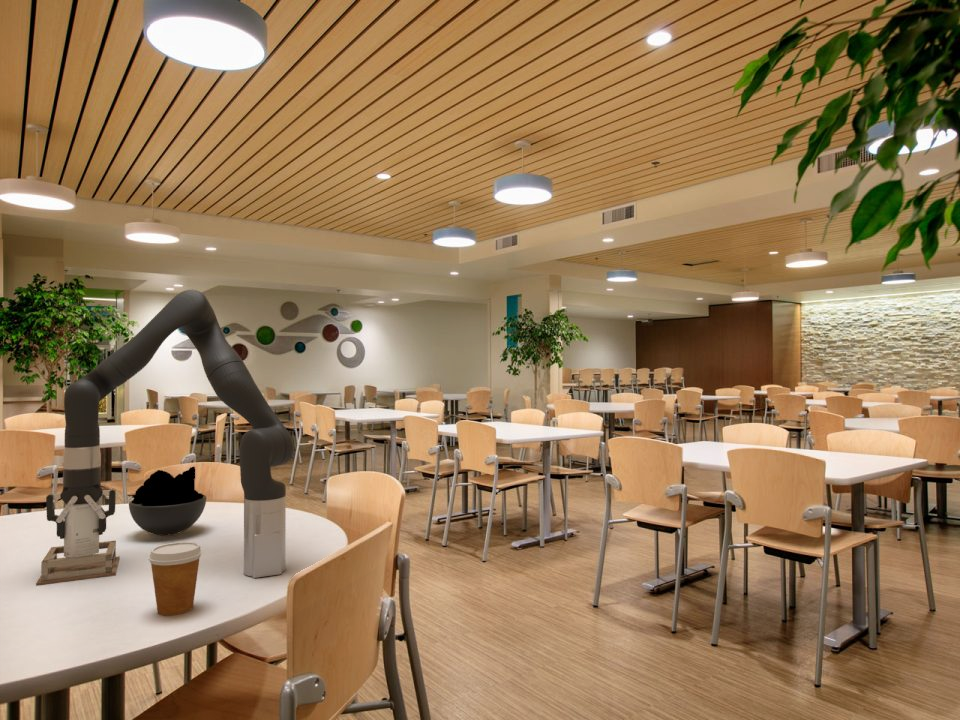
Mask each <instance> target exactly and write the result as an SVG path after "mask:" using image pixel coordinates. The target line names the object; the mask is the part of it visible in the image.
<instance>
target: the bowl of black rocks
mask: <svg viewBox="0 0 960 720" xmlns="http://www.w3.org/2000/svg"><path fill="white" fill-rule="evenodd" d="M195 480H196V467H195V466H191V467H189V468H188V469H187V470H185V471H182V473H178V474H177V475H176V476H175V477H174V475H172V474H171V473H170V472H168V471H165V470H162V469H161V470H160V469H158V470H156V471H154V472H153V473H152V474H150V475H149V477H148V478H146V480H144V482H143V484H142V485H140V486H139V487H138V488H137V489H136V490H135V494H134V497H133V499H132V500H130V501H129V503H128V509H129V513H130V515H131V517H132V519H133V521H134V522H135V524H136V525H137V526H138V527H139V528H140V529H142V530H144V531H145V532H147V533H149V534H152V535H155V536H156V535H157V536H173V535H177V534H179V533H181V532H184V531H186V530H188V529H189V528H190V527H192V526H193V525H194V524H195V523H196V522H197V521H199V518H200V517H201V516H202V514H203V512H204V509H205V508H206V504H207V495H205V494H203V493H200V492H198V490H196V488H195V485H196V484H195V483H196V482H195Z"/></svg>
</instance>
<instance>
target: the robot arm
mask: <svg viewBox="0 0 960 720" xmlns="http://www.w3.org/2000/svg"><path fill="white" fill-rule="evenodd" d="M178 329H181V330H182V331H183V332H184V333H185V335H186V336H187V337H188V339H189V340H190V341H191V343H192V344H193V346H194V347H195V349H196V351H197V352H198V354H199V356H200V360H201V363H202V367H203V371H204V374H205V376H206V379H207V380H208V382H209V384H210V386H211V387H212V390H213V391H214V393H215V395H216V396H217V397H218V399H219V400H220V401H221V402H222V403H223V404H225V406H227V407H228V408H230V409H231V410H233V411H234V412H235V413H236V414H238V415H239V416H240V417H242V418H243V419H244V420H246V421H247V422H248V423H249V425H250V426H251V427H252V429H248V430H247V431H246V432H245V433H244V434H243V435H242V436H241V439H240V444H239V452H238V453H239V471H240V473H239V474H240V483H241V488H242V490H243V497H244V498H243V574H244V575H245V576H248V577H252V578H253V579H256V578H263V577H269V576H276V575H277V576H278V575H282V573H283V572H284V571H285V570H286V562H287V561H286V560H287V558H286V556H287V555H286V534H287V532H286V530H287V529H286V528H287V527H286V522H287V518H286V508H287V507H286V505H287V504H286V503H287V502H286V501H287V498H286V497H287V496H286V494H287V493H286V490H287V489H286V484H285V483H284V482H283V481H278V480H276V479H274V478H273V477H272V471H271V467H276V466H281V465H285V464H287V463H289V462H290V460H291V459H292V458H293V456H294V441H293V438H292V436H291V434H290V433H289V431H288V430H287V428H286V426H285V425H284V424H283V422H282V421H281V420H280V418H279V416H278V415H276V412H274V410H273V409H272V408H271V406H270V405H269V404H268V401H267V400H266V398H265V397H264V395H263V393H262V392H261V390H260V389H259V387H258V385H257V384H256V381H254V379H253V376H252V375H251V373H250V371H249V369H248V367H247V365H246V364H245V362H244V361H243V359H242V358H241V356H240V355H239V353H238V352H237V351H236V350H235V348H233V346H232V345H231V344H230V343H229V342H228V341H227V338H226V337H225V335H224V332H223V331H222V329H221V326H220V323H219V321H218V319H217V315H216V312H215V310H214V308H213V307H212V305H211V304H210V302H209V300H208V298H207V297H206V295H205V294H204V293H202V291H199V290H197V289H186V290H183V291H181V292H179V293H178V294H176V295H175V296H174V297H173V298H171V300H169V301H168V303H166V304H165V305H164V306H163V308H161V310H160V311H159V312H158V313H156V314H155V316H154V317H153V318H151V320H150V321H148V323H147V324H146V325H145V326H144V327H143V328H142V329H141V330H140V331H139V332H138V333H136V334H135V335H134V336H133V337H132V338H131V339H130V340H128V341H127V342H126V343H125V344H123V345H122V346H120V348H118V349H116V351H114V352H112V354H110V355H109V356H108V357H106V358H104V360H102V361H101V362H100V363H99V364H98V365H97V366H96V367H95V368H93V369H92V370H91V371H89V372H88V373H86V374H85V375H84V376H82V377H81V378H79V379H78V380H76V381H75V382H72V383H71V384H70V385H68V386H67V387H66V389H65V391H64V395H63V407H64V409H63V410H64V419H65V420H64V421H65V429H64V450H63V455H62V458H63V459H62V491H61V493H52V492H51V493H48V495H46V498H45V503H46V520H47V521H48V522H54V523H56V536H57V537H59V539H60V540H62V539H63V540H64V518H65V516H66V515H67V513H68V512H69V511H70V506H69V505H75V504H89V505H90V506H91V507H92V509H93V510H94V511H95V512H96V513H97V515H98V516H99V536H101V535H102V536H103V534H104V533H105V532H106V530H107V518H109V517H110V516H114V515H115V513H116V498H117V497H116V496H117V491H116V490H117V489H115V488H111V489H103V488H102V486H101V485H102V484H101V483H102V481H101V479H102V476H101V475H102V472H101V471H102V470H101V469H102V468H101V467H102V452H101V445H100V441H101V438H100V437H101V436H100V435H101V434H100V429H101V428H100V425H99V414H100V413H99V412H100V408H99V407H100V403H101V401H103V400H104V398H106V397H107V396H109V394H110V393H112V392H113V391H114V390H116V388H118V387H120V386H122V385H123V384H125V383H126V382H128V381H129V380H130V379H131V378H133V377H134V376H136V375H137V374H138V373H139V372H141V371H142V370H143V369H144V368H145V367H146V366H147V365H148V364H149V363H150V362H151V360H152V359H153V357H154V356H155V354H156V353H157V351H158V350H159V349H160V347H161V346H162V344H163V343H164V342H165V340H167V339H168V338H169V336H170V335H172V334H173V333H174V332H176V330H178ZM102 496H104V497H105V499H107V500H108V510H105V509H104V508H103V506H102V505H101V504H100V506H98V505H97V503H96V502H99V500H100V499H101V497H102ZM59 499H61V500H62V501H63V502H64V504H66V506H65V505H64V508H63V510H61V512H60V514H59V515H58V514H56V513H55V512H56V511H55V509H56V508H55V507H56V505H55V504H56V503H57V502H58V501H59ZM94 506H95V507H94ZM67 508H68V509H67Z"/></svg>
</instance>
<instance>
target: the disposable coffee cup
mask: <svg viewBox="0 0 960 720" xmlns="http://www.w3.org/2000/svg"><path fill="white" fill-rule="evenodd" d="M202 554H203V550H202V549H201V546H200V544H199V543H197V542H193V541H180V542H171V543H165V544H161V545H158V546H155V547H154V548H152V549H151V551H150V554H149V555H148V557H147V559H148V561H149V563H150V565H151V574H152V580H153V581H152V582H153V588H154V589H153V590H154V594H155V595H154V596H155V602H156V603H155V604H156V610H157V614H158V615H161V616H175V615H181V614H184V613H186V612H189V611H191V610H192V609H193V608H194V601H195V596H196V587H197V579H198V572H199V565H200V564H199V563H200V558H201V556H202Z"/></svg>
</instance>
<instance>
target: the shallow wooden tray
mask: <svg viewBox="0 0 960 720" xmlns="http://www.w3.org/2000/svg"><path fill="white" fill-rule="evenodd" d="M116 546H117V540H110V541H109V540H107V541H99V550H102V549H103V550H104V549H107V550H106V552H103V553H97V554H92V555H88V556H81V557H72V558H67V557H65V556H64V557H59V558H58V554H64V545H62V546H61V545H59V546H51V547H50V549H49V550H48V551H47V553H46V555H45V556H44V558H43V560H42V561H41V565H40V566H41V570H40V571H41V573H40V574H41V575H40V576H41V581H49V580H57V579H65V578H73V577H81V576H89V575H97V574H105V573H112V569H113V566H114V562H115V558H116V557H117V556H116V555H117V554H116V553H117V551H116V550H117V548H116ZM102 561H106V566H101V567H92V568H84V569H76V570H68V571H59V572H53V571H54V569H55V567H60V566H68V565H77V564H85V563H94V562H102Z"/></svg>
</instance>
